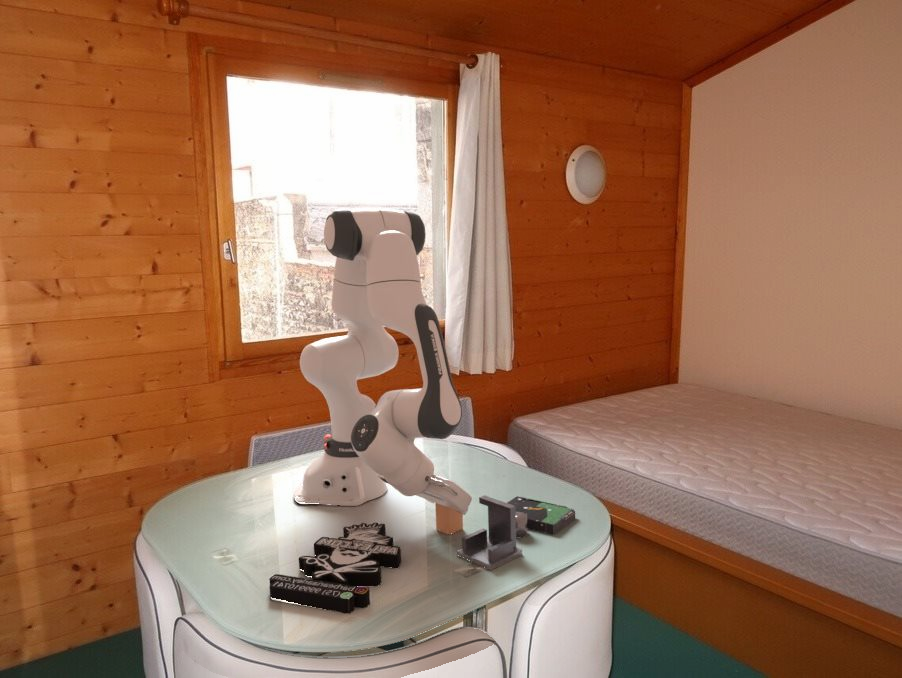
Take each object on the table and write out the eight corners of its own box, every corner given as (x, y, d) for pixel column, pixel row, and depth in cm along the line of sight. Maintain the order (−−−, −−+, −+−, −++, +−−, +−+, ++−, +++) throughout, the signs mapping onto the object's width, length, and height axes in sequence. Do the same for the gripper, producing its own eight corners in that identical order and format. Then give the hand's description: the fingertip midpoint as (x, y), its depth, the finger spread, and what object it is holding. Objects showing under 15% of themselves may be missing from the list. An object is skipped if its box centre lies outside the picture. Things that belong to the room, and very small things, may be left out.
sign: (260, 585, 124) (341, 518, 152) (261, 601, 124) (342, 531, 152) (358, 601, 118) (424, 528, 145) (359, 618, 118) (425, 541, 146)
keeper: (490, 570, 132) (489, 522, 130) (453, 554, 139) (452, 508, 138) (522, 554, 138) (521, 508, 137) (485, 539, 145) (484, 495, 144)
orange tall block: (449, 535, 148) (447, 494, 146) (436, 529, 151) (434, 489, 149) (463, 529, 151) (462, 488, 149) (450, 523, 153) (448, 484, 152)
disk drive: (493, 523, 155) (555, 537, 146) (493, 511, 154) (554, 524, 146) (516, 507, 163) (576, 519, 155) (516, 495, 163) (576, 507, 154)
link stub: (509, 538, 145) (509, 520, 145) (507, 530, 149) (506, 512, 149) (529, 537, 146) (528, 518, 145) (525, 529, 150) (525, 511, 149)
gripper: (455, 470, 135) (491, 504, 143) (388, 449, 150) (424, 481, 158) (438, 499, 133) (476, 532, 141) (372, 475, 148) (410, 506, 156)
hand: (448, 505), depth 150 cm, fingers open, 8 cm apart
